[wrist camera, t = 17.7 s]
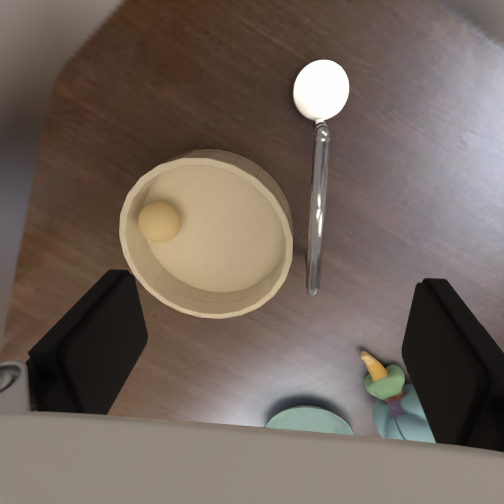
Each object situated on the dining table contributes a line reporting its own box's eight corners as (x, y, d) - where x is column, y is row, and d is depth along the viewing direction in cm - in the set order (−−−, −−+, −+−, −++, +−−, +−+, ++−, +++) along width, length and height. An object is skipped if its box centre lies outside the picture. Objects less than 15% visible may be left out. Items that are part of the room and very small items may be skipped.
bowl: (126, 149, 32) (101, 158, 28) (295, 148, 30) (295, 157, 26) (153, 290, 39) (136, 314, 35) (290, 297, 37) (290, 323, 33)
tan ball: (129, 216, 29) (138, 193, 32) (138, 251, 31) (146, 227, 34) (175, 215, 29) (180, 193, 32) (181, 250, 32) (184, 226, 35)
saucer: (350, 392, 42) (352, 408, 40) (352, 450, 47) (354, 467, 45) (259, 393, 44) (258, 408, 42) (271, 449, 49) (270, 464, 47)
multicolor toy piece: (407, 387, 30) (470, 469, 32) (387, 328, 38) (439, 398, 41) (339, 414, 33) (402, 488, 35) (334, 354, 41) (385, 417, 43)
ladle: (293, 61, 27) (292, 54, 20) (349, 59, 26) (365, 50, 20) (288, 259, 35) (286, 298, 28) (331, 261, 34) (338, 300, 28)
